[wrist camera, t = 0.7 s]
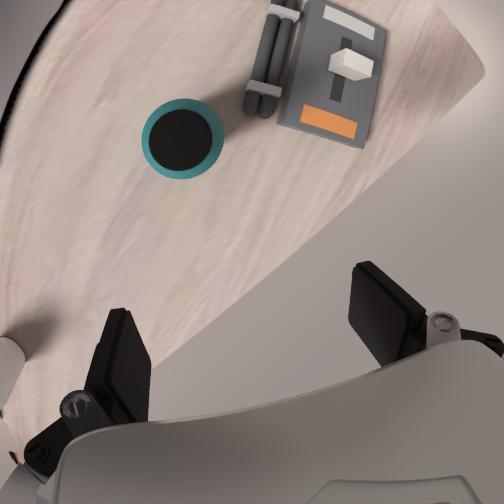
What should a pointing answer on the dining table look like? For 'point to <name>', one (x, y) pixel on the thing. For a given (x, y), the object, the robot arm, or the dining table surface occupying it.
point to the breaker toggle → (350, 65)
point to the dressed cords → (271, 88)
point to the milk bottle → (9, 367)
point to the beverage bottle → (182, 138)
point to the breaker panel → (331, 75)
